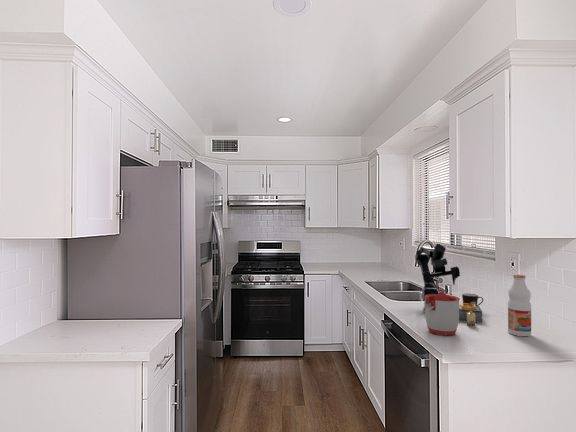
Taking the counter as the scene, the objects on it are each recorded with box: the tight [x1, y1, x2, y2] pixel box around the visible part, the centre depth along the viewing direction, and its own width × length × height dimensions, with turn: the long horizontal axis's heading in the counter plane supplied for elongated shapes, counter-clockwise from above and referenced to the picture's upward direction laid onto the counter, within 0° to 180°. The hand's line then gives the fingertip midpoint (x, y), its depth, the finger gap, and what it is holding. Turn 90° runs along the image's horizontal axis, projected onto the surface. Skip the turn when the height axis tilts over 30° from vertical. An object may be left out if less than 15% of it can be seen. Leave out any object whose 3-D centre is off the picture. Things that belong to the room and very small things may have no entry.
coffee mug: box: [461, 292, 484, 307], centre depth 219 cm, size 12×9×10 cm
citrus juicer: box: [423, 290, 460, 337], centre depth 177 cm, size 16×17×20 cm
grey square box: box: [459, 302, 483, 323], centre depth 203 cm, size 12×12×8 cm
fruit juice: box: [507, 274, 532, 337], centre depth 176 cm, size 9×9×28 cm
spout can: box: [466, 311, 476, 327], centre depth 190 cm, size 4×4×8 cm
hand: (444, 286), depth 196 cm, fingers open, 9 cm apart
